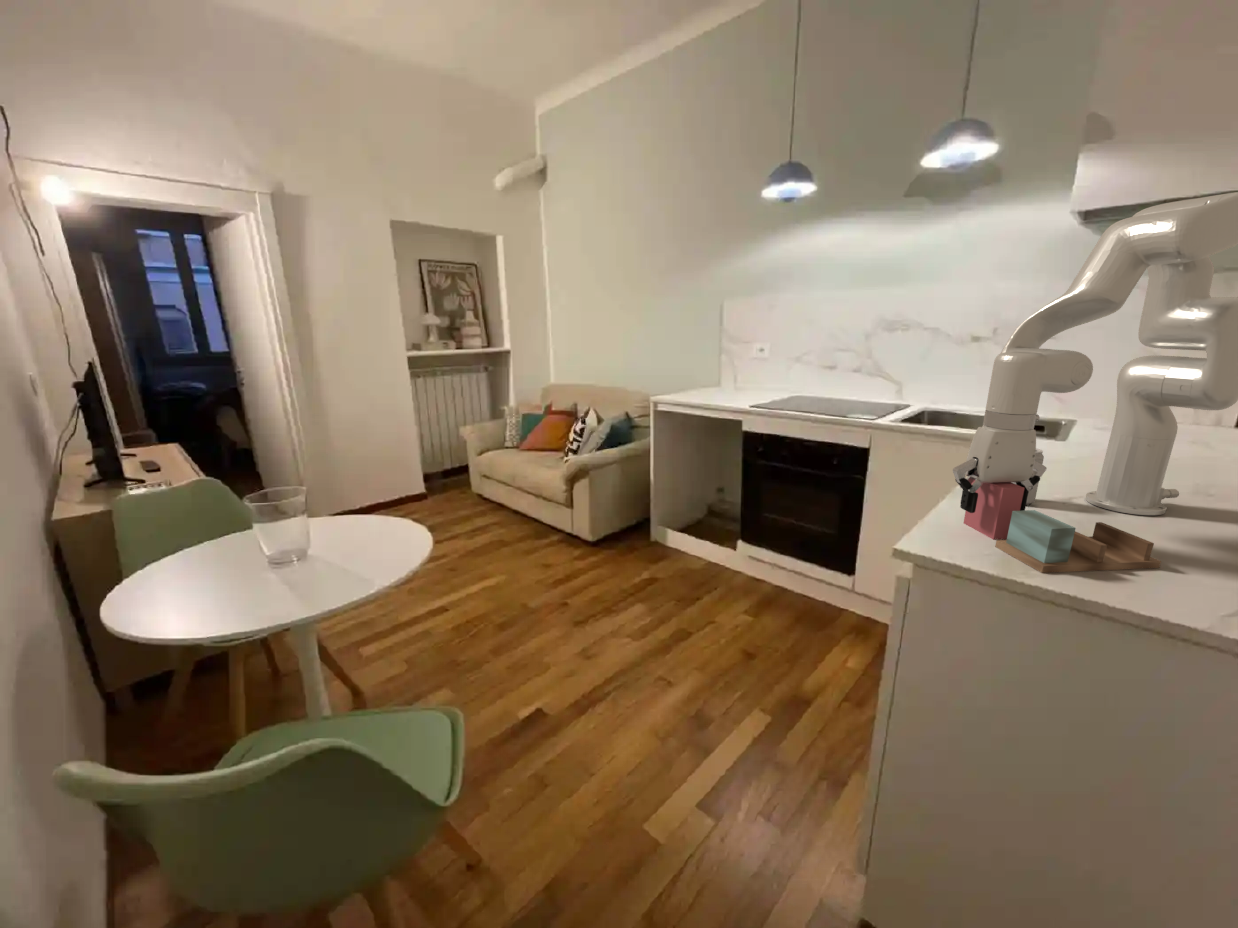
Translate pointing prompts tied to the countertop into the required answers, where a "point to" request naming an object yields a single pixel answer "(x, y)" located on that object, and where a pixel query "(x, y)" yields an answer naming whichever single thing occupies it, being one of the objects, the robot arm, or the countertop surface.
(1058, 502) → the countertop surface
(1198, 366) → the robot arm
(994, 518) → the dusty red block
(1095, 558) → the rack
